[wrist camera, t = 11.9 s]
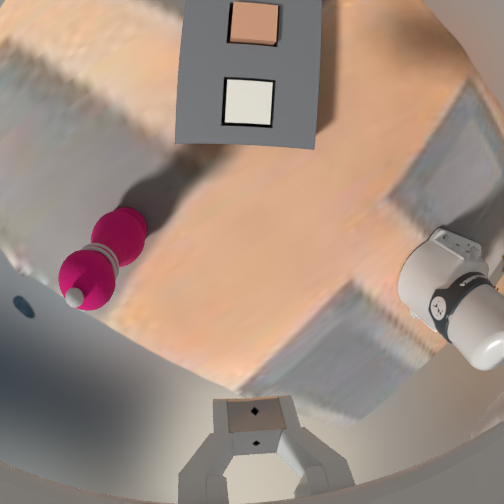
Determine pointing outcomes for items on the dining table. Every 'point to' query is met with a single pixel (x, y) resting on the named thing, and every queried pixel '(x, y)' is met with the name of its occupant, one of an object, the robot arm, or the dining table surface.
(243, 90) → the cream plunger
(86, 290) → the pepper mill
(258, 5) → the tan cube
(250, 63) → the button console
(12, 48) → the dining table surface
